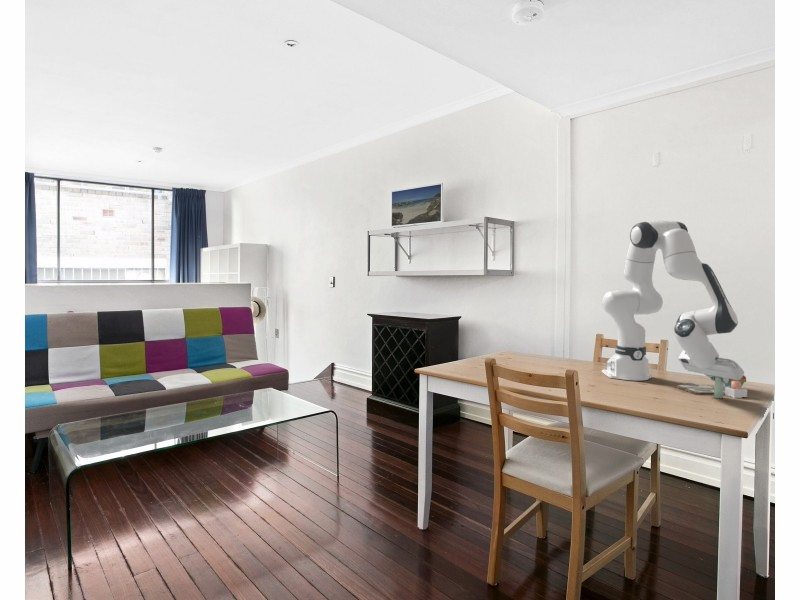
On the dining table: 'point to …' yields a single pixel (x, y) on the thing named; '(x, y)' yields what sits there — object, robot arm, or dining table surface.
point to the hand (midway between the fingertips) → (720, 380)
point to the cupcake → (735, 380)
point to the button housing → (735, 392)
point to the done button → (735, 384)
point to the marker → (718, 387)
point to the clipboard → (697, 388)
